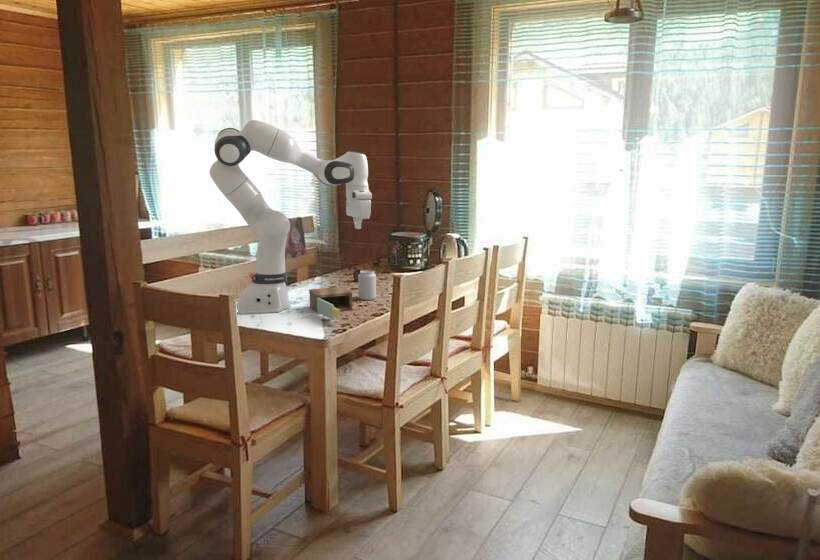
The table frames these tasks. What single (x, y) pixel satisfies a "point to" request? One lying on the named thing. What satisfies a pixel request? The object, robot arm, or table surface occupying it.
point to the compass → (356, 274)
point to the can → (367, 285)
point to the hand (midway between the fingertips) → (357, 228)
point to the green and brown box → (332, 297)
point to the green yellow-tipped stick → (327, 309)
